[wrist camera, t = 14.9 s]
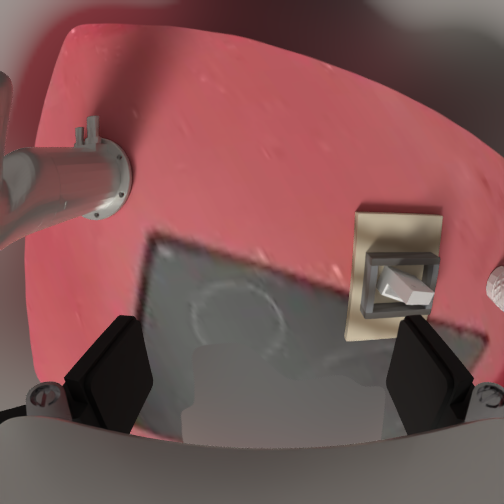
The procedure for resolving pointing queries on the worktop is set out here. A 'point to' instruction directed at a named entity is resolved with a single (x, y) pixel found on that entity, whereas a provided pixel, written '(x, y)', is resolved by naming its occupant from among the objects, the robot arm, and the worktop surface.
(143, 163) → the worktop surface
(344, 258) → the worktop surface
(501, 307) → the white cup
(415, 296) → the white wedge bracket
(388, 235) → the board
